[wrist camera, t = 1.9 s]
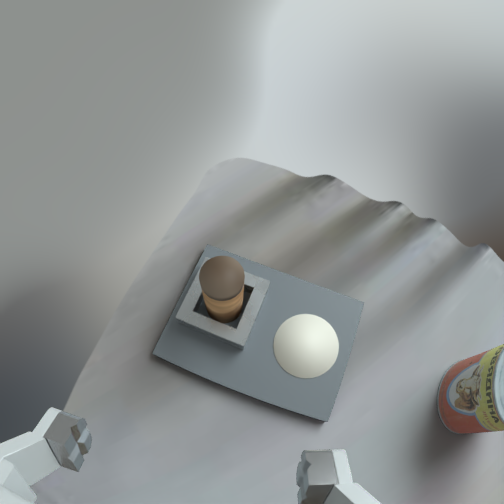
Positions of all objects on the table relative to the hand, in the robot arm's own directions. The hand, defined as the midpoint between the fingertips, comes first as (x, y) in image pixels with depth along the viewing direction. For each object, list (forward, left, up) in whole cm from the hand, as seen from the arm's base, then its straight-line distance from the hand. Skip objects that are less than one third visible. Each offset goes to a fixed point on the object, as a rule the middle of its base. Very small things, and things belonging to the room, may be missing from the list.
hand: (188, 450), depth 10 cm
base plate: (+12, 0, -27) cm, 29 cm away
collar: (+13, +5, -26) cm, 29 cm away
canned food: (+12, -32, -27) cm, 44 cm away
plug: (+13, +5, -25) cm, 29 cm away
